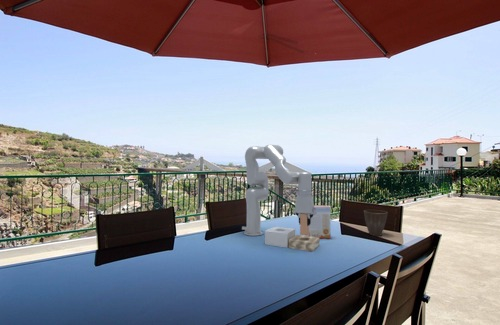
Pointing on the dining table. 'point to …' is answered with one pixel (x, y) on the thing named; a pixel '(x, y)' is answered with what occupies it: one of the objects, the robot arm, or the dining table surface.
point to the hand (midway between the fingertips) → (304, 224)
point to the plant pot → (375, 221)
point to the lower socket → (304, 242)
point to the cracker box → (320, 222)
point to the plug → (304, 224)
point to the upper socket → (279, 236)
